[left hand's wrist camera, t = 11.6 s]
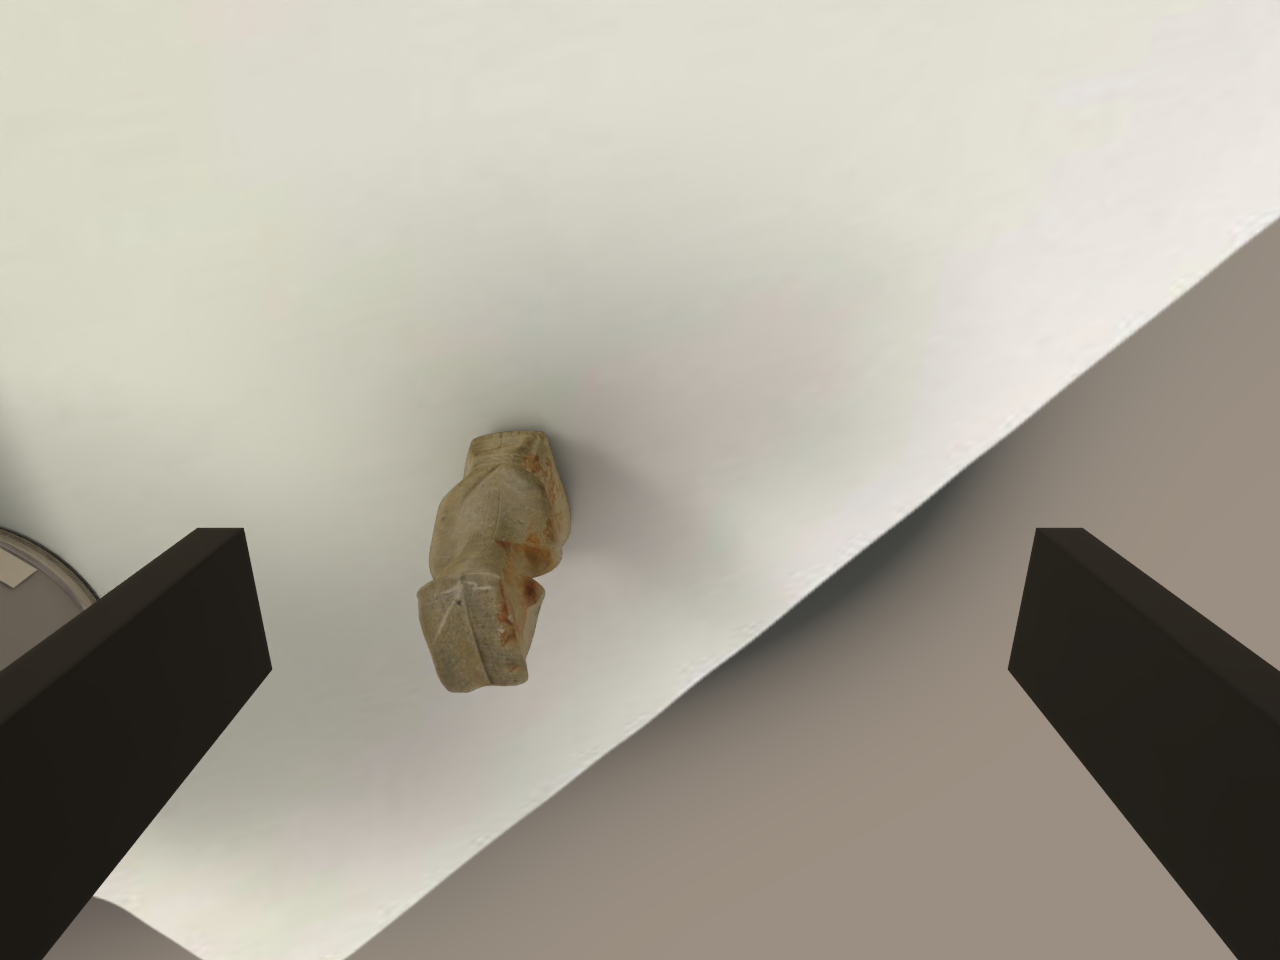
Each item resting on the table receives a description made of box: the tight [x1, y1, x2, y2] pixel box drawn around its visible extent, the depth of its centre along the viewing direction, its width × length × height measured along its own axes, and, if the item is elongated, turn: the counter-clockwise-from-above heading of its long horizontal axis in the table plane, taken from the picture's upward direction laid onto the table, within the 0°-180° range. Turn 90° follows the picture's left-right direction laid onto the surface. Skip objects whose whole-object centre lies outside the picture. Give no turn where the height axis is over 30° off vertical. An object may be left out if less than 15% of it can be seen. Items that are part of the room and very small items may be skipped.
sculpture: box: [417, 430, 571, 693], centre depth 34 cm, size 6×7×15 cm
